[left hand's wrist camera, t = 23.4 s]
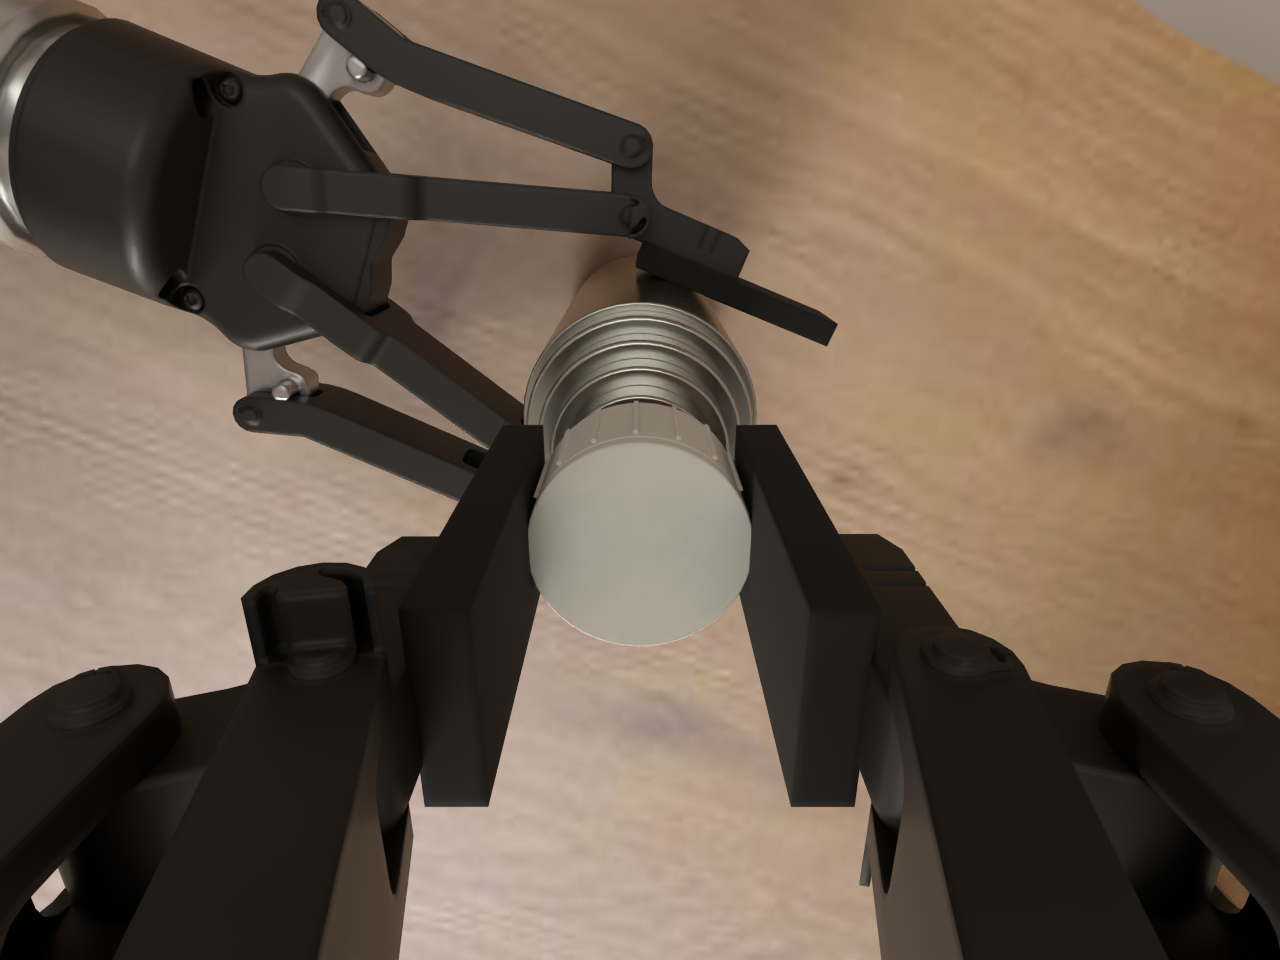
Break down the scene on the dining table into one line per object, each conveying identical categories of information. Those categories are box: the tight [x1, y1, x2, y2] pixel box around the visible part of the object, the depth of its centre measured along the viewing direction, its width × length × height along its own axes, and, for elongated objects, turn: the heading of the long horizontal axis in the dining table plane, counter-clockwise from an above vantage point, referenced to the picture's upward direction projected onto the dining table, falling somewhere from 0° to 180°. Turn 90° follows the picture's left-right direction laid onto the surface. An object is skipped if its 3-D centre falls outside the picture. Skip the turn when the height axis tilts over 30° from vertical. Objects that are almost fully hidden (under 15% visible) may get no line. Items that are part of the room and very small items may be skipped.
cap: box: [528, 401, 752, 646], centre depth 13 cm, size 4×4×2 cm
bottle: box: [523, 255, 757, 461], centre depth 22 cm, size 6×6×20 cm
